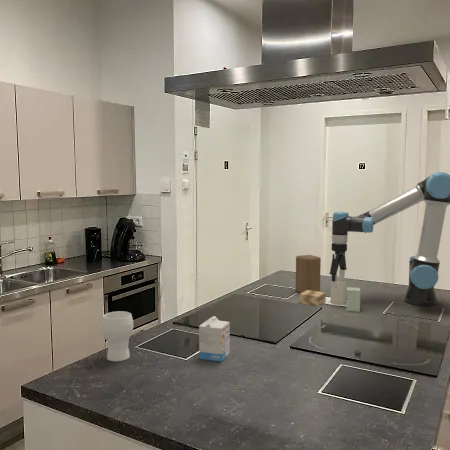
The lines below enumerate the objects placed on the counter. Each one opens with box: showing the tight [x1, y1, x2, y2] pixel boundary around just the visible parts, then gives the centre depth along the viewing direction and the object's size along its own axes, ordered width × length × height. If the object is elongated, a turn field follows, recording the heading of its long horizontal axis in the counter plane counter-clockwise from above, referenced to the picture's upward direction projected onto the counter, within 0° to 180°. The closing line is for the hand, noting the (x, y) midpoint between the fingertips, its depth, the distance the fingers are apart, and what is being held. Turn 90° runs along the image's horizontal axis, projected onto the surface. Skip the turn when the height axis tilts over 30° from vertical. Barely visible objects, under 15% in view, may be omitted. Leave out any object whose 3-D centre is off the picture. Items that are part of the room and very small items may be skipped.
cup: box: [101, 310, 134, 362], centre depth 160 cm, size 11×11×15 cm
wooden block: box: [295, 254, 322, 294], centre depth 251 cm, size 10×10×20 cm
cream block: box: [330, 280, 347, 305], centre depth 232 cm, size 6×6×10 cm
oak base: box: [298, 290, 327, 307], centre depth 232 cm, size 10×10×5 cm
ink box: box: [198, 315, 231, 362], centre depth 161 cm, size 9×8×13 cm
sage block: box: [345, 286, 361, 313], centre depth 218 cm, size 6×6×10 cm
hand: (337, 285), depth 232 cm, fingers open, 13 cm apart
